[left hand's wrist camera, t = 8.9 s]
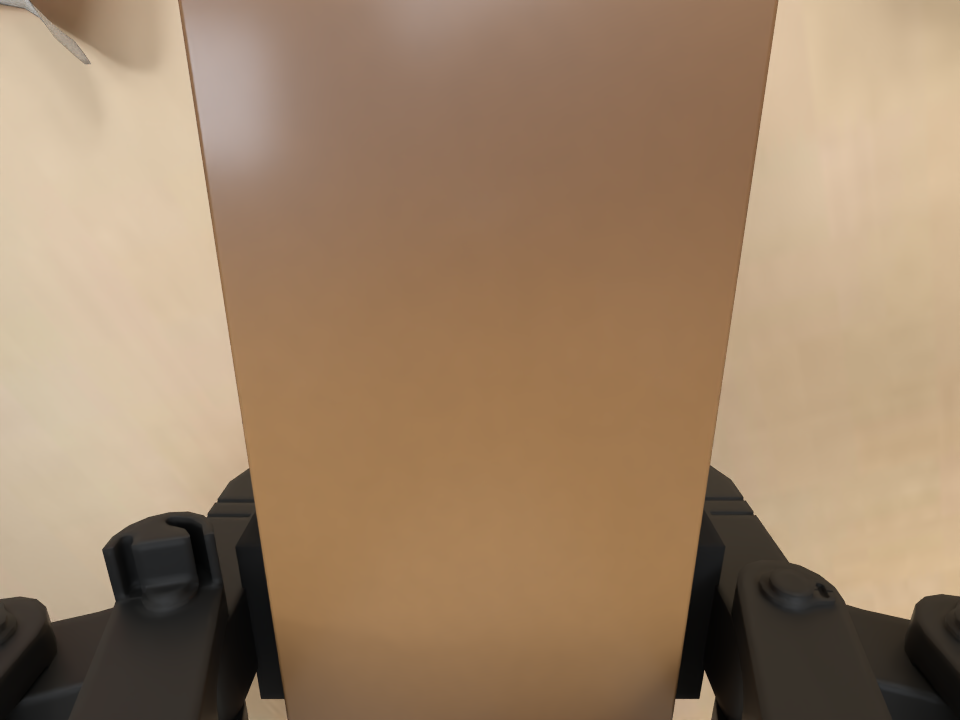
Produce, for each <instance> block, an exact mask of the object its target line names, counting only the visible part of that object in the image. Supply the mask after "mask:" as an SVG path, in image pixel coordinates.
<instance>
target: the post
mask: <svg viewBox="0 0 960 720" xmlns="http://www.w3.org/2000/svg"><path fill="white" fill-rule="evenodd" d="M178 3H179V9H180V16H181V22H182V29H183V35H184V42H185V49H186V55H187V62H188V68H189V75H190V81H191V88H192V94H193V101H194V108H195V114H196V121H197V127H198V134H199V140H200V147H201V154H202V160H203V167H204V173H205V180H206V186H207V193H208V199H209V206H210V213H211V219H212V226H213V232H214V239H215V245H216V252H217V258H218V265H219V272H220V278H221V285H222V291H223V298H224V304H225V311H226V318H227V324H228V331H229V337H230V344H231V350H232V357H233V363H234V370H235V377H236V383H237V390H238V396H239V403H240V409H241V416H242V423H243V429H244V436H245V442H246V449H247V455H248V462H249V468H250V475H251V482H252V488H253V495H254V501H255V508H256V514H257V521H258V527H259V534H260V541H261V547H262V554H263V560H264V567H265V573H266V580H267V587H268V593H269V600H270V606H271V613H272V619H273V626H274V632H275V639H276V646H277V652H278V659H279V665H280V672H281V678H282V685H283V692H284V698H285V705H286V711H287V718H288V720H672V718H673V711H674V704H675V698H676V691H677V684H678V677H679V670H680V664H681V657H682V650H683V643H684V637H685V630H686V623H687V616H688V609H689V603H690V596H691V589H692V582H693V576H694V569H695V562H696V555H697V548H698V542H699V535H700V528H701V521H702V514H703V508H704V501H705V494H706V487H707V481H708V474H709V467H710V460H711V453H712V447H713V440H714V433H715V426H716V420H717V413H718V406H719V399H720V392H721V386H722V379H723V372H724V365H725V359H726V352H727V345H728V338H729V331H730V325H731V318H732V311H733V304H734V298H735V291H736V284H737V277H738V270H739V264H740V257H741V250H742V243H743V237H744V230H745V223H746V216H747V209H748V203H749V196H750V189H751V182H752V176H753V169H754V162H755V155H756V148H757V142H758V135H759V128H760V121H761V115H762V108H763V101H764V94H765V87H766V81H767V74H768V67H769V60H770V53H771V47H772V40H773V33H774V26H775V20H776V13H777V6H778V0H178Z"/></svg>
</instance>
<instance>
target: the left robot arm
mask: <svg viewBox="0 0 960 720" xmlns="http://www.w3.org/2000/svg"><path fill="white" fill-rule="evenodd" d="M102 551H103V555H104V559H105V562H106V566H107V570H108V574H109V577H110V581H111V585H112V589H113V593H114V596H115V600H116V603H115V605H114V607H113V608H111V609H107V610H104V611H100V612H96V613H92V614H87V615H83V616H78V617H74V618H69V619H65V620H60V621H56V622H51V621H50V618H49V615H48V612H47V609H46V607H45V606H44V605H43V604H42V603H41V602H39V601H38V600H37V599H32V598H25V597H14V598H6V599H0V720H248V714H247V708H246V702H245V699H246V696H247V694H248V691H249V689H250V686H251V684H252V681H253V679H254V676H255V674H256V672H257V677H258V683H259V689H260V695H261V699H285V698H284V692H283V685H282V678H281V672H280V665H279V659H278V652H277V646H276V639H275V632H274V626H273V619H272V613H271V606H270V600H269V593H268V587H267V580H266V573H265V567H264V560H263V554H262V547H261V541H260V534H259V527H258V521H257V514H256V508H255V501H254V495H253V488H252V482H251V475H250V468H249V469H247V470H246V471H245V472H243V473H242V474H240V475H239V476H237V477H236V478H235V479H233V480H232V481H230V482H229V484H228V485H227V487H226V488H225V489H224V491H223V492H222V494H221V495H220V497H219V498H218V502H217V503H215V504H214V505H213V507H212V508H211V510H210V511H209V512H208V516H207V517H205V516H204V515H200V514H196V513H192V512H169V513H164V514H160V515H156V516H151V517H148V518H146V519H143V520H141V521H138V522H136V523H134V524H131V525H129V526H128V527H126V528H125V529H123V530H122V531H120V532H119V533H117V534H116V535H114V536H113V537H112V538H111V539H110V541H109V542H108V543H107V544H106V546H105V547H104V548H103V549H102ZM704 670H705V672H706V674H707V677H708V679H709V682H710V684H711V687H712V689H713V692H714V694H715V696H716V697H715V702H714V708H713V713H712V718H711V720H960V596H952V595H944V594H939V595H933V596H926V597H924V598H923V599H922V600H920V601H919V602H918V603H917V604H916V605H915V608H914V611H913V614H912V617H911V620H907V619H903V618H898V617H894V616H889V615H885V614H880V613H876V612H871V611H867V610H863V609H859V608H856V607H852V606H849V605H846V604H845V601H844V600H843V598H842V597H841V595H840V594H839V592H838V591H837V590H836V588H835V587H834V586H833V585H832V584H830V583H829V582H828V581H826V580H825V579H824V578H823V577H821V576H820V575H819V574H817V573H814V572H812V571H810V570H808V569H806V568H804V567H802V566H800V565H796V564H792V563H789V562H788V560H787V559H786V557H785V556H784V555H783V553H782V552H781V550H780V549H779V547H778V546H777V545H776V543H775V542H774V540H773V539H772V537H771V536H770V535H769V533H768V532H767V530H766V529H765V527H764V526H763V525H762V523H761V522H760V520H759V519H758V517H757V516H756V515H754V514H753V510H752V509H751V507H750V506H749V505H748V503H747V502H746V501H744V500H743V496H742V495H741V493H740V492H739V490H738V489H737V487H736V486H735V485H734V483H733V482H732V480H731V479H729V478H728V477H726V476H725V475H723V474H722V473H721V472H719V471H718V470H716V469H715V468H713V467H712V466H710V467H709V474H708V481H707V487H706V494H705V501H704V508H703V514H702V521H701V528H700V535H699V542H698V548H697V555H696V562H695V569H694V576H693V582H692V589H691V596H690V603H689V609H688V616H687V623H686V630H685V637H684V643H683V650H682V657H681V664H680V670H679V677H678V684H677V691H676V698H675V699H699V698H700V692H701V686H702V680H703V675H704Z"/></svg>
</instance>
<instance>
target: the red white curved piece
mask: <svg viewBox="0 0 960 720" xmlns="http://www.w3.org/2000/svg"><path fill="white" fill-rule="evenodd" d="M0 4H1V5H7V6H13V7H18V8H24V9H26V10H28V11H30V12H31V13H33V14H34V15H36V16H38V17H39V18H40V19H41V20H42V21H43V22H44V24H45V25H46V26H47V27H48V29H49V30H50V32H51V33H52V34H53V36H54V37H55V38H56V39H57V40H58V41H59V42H60V43H62V44H63V45H64V46H65V47H66V48H67V49H68V50H69V51H70V52H71V53H72V54H74V55H75V56H76V57H77V58H78V59H80V60H81V61H82V62H83V63H84V64H91V63H90V61H89V60H88V58H87V57H86V55H85V54H84V53H83V51H82V50H81V49H80V48H79V46H78V45H77V44H76V42H75V41H74V40H72V39H71V38H70V37H68V36H67V35H65V34H64V33H63V32H62V31H60V30H59V29H58V28H57V27H56V26H55V25H53V24H52V23H51V22H50V21H49V20H48V19H47V18H46V17H45V16H44V15H43V14H42V13H41V12H40V11H39V10H38V9H37V8H36V7H35V6H34V5H33V4H32V3H31V2H30V0H0Z"/></svg>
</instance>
